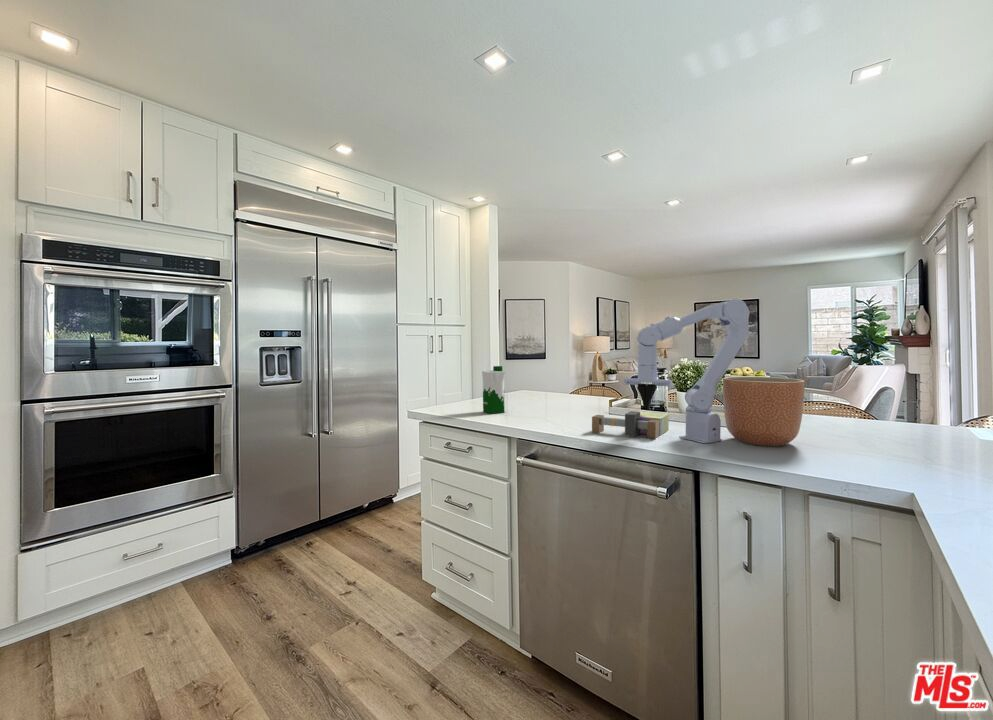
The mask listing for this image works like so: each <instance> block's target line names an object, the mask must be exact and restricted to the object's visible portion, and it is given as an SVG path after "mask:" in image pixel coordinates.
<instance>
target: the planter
mask: <svg viewBox="0 0 993 720" xmlns="http://www.w3.org/2000/svg"><path fill="white" fill-rule="evenodd" d="M805 384H806V383H805V380H804V379H798V378H791V377H775V376H774V377H773V376H726V377H722V401H723V413H724V416H723V417H724V421H725V426H726V429H727V432H728V433H730V435H731V436H732V437H733V438H735V439H736V440H737V441H739V442H741V443H745V444H749V445H754V446H762V447H763V446H764V447H779V446H780V447H781V446H785V445H788V444H789V443H791V442H792V441H794V439H795V438H797V437H798V434H799V432H800V429H801V425H802V419H803V414H804V413H803V412H804V411H803V410H804V402H805V401H804V400H805V386H806V385H805Z"/></svg>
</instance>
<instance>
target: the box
mask: <svg viewBox="0 0 993 720" xmlns="http://www.w3.org/2000/svg"><path fill="white" fill-rule="evenodd" d="M638 412H640V420H641V421H650V420H651V419H652V420H659V436H662V434H664V433H666V432H667V431H668V430H669V429H670V428H669V426H670V425H669V424H670V422H669V420H670V418H669V417H670V416H669V415H670V414H669V413H660V412H650V411H640V410H639V411H638ZM639 434H642V435H647V429H640V433H639Z"/></svg>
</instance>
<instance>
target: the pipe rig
mask: <svg viewBox="0 0 993 720" xmlns="http://www.w3.org/2000/svg"><path fill="white" fill-rule="evenodd" d="M604 426H611V427H621V428H625V418H619V417H618V418H617V417H605V416H604V414H603V415H602V414H595V415H593V416H591V433H593V434H600V432H601V433H602V432H604V430H605V427H604ZM636 428H640V429H647V434H646V437H647V438H649V440H657V439H658V438H659V420H652V419H651V420H650V421H641V420H636ZM657 437H658V438H657ZM656 438H657V439H656Z"/></svg>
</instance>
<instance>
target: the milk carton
mask: <svg viewBox="0 0 993 720" xmlns="http://www.w3.org/2000/svg"><path fill="white" fill-rule="evenodd" d="M481 375H482V410H483V411H482V412H483V413H486V414H489V415H493V414H494V415H495V414H504V413H505V377H506V370H503V366H502V365H493V368H492V370H482V372H481Z"/></svg>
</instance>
